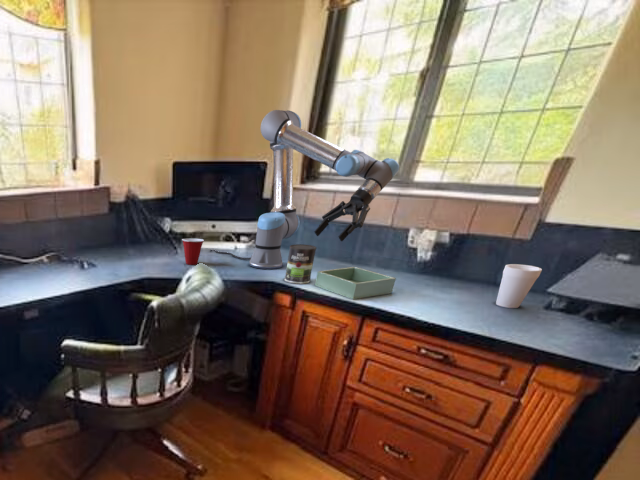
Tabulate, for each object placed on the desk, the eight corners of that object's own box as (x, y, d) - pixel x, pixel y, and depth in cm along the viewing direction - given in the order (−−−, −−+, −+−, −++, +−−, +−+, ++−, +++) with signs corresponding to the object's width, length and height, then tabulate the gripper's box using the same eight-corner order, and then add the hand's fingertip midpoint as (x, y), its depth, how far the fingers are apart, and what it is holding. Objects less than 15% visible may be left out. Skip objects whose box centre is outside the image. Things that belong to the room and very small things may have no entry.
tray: (314, 285, 172) (317, 271, 169) (351, 280, 177) (354, 266, 174) (352, 299, 155) (356, 283, 152) (391, 293, 161) (396, 278, 158)
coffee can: (308, 285, 173) (314, 249, 166) (282, 282, 177) (287, 248, 170) (311, 278, 181) (317, 245, 174) (286, 276, 185) (291, 243, 178)
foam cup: (514, 311, 140) (531, 272, 134) (484, 303, 148) (499, 266, 142) (530, 306, 144) (548, 268, 137) (500, 299, 151) (515, 263, 145)
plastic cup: (206, 262, 212) (207, 237, 206) (197, 267, 204) (198, 241, 198) (186, 260, 217) (187, 236, 211) (177, 264, 209) (178, 239, 203)
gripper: (394, 204, 163) (354, 247, 166) (345, 199, 183) (310, 237, 186) (387, 190, 159) (347, 234, 161) (338, 186, 179) (303, 226, 182)
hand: (327, 236), depth 174 cm, fingers open, 13 cm apart
